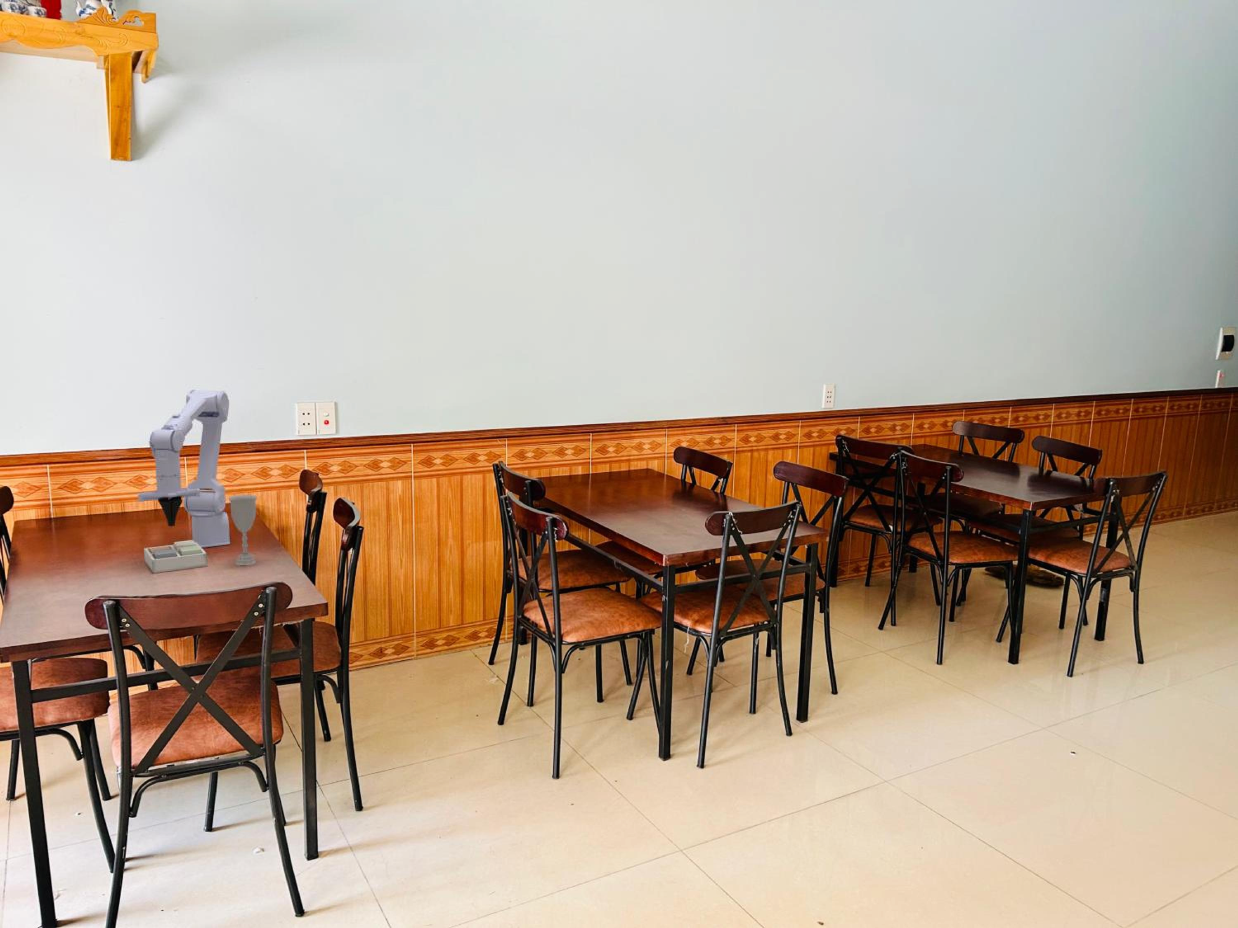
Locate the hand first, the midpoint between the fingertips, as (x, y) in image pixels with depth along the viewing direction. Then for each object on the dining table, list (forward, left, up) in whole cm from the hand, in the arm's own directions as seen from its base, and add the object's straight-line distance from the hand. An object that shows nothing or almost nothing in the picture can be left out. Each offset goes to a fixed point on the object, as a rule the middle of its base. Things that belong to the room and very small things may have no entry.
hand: (171, 525), depth 238 cm
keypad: (-1, 0, -10) cm, 10 cm away
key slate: (+3, +3, -8) cm, 9 cm away
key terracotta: (+3, -3, -9) cm, 10 cm away
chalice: (-16, +9, -11) cm, 21 cm away
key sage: (-3, +4, -8) cm, 10 cm away
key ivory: (-3, -3, -8) cm, 9 cm away
